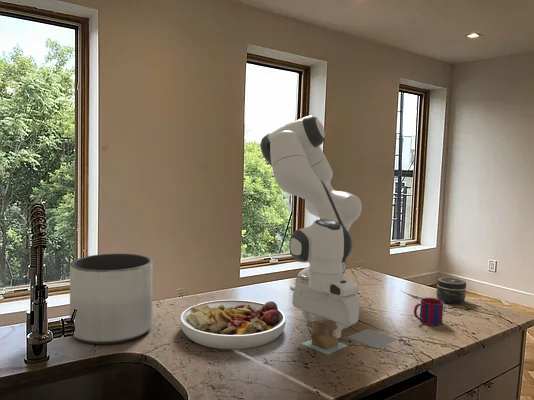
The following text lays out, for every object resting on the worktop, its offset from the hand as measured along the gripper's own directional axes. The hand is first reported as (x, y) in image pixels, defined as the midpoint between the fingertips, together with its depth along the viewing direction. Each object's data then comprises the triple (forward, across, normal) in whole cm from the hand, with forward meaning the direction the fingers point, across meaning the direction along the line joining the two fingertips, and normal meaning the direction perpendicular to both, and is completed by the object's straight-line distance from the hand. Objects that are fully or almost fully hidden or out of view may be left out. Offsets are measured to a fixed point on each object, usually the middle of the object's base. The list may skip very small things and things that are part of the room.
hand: (322, 331), depth 121 cm
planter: (+5, -45, -38) cm, 59 cm away
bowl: (+5, -23, -12) cm, 27 cm away
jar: (+4, +4, +70) cm, 70 cm away
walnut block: (+4, 0, +1) cm, 4 cm away
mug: (+4, +9, +41) cm, 42 cm away
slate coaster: (+4, +6, +15) cm, 16 cm away
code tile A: (+4, 0, +1) cm, 4 cm away
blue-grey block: (+3, -8, +12) cm, 15 cm away
